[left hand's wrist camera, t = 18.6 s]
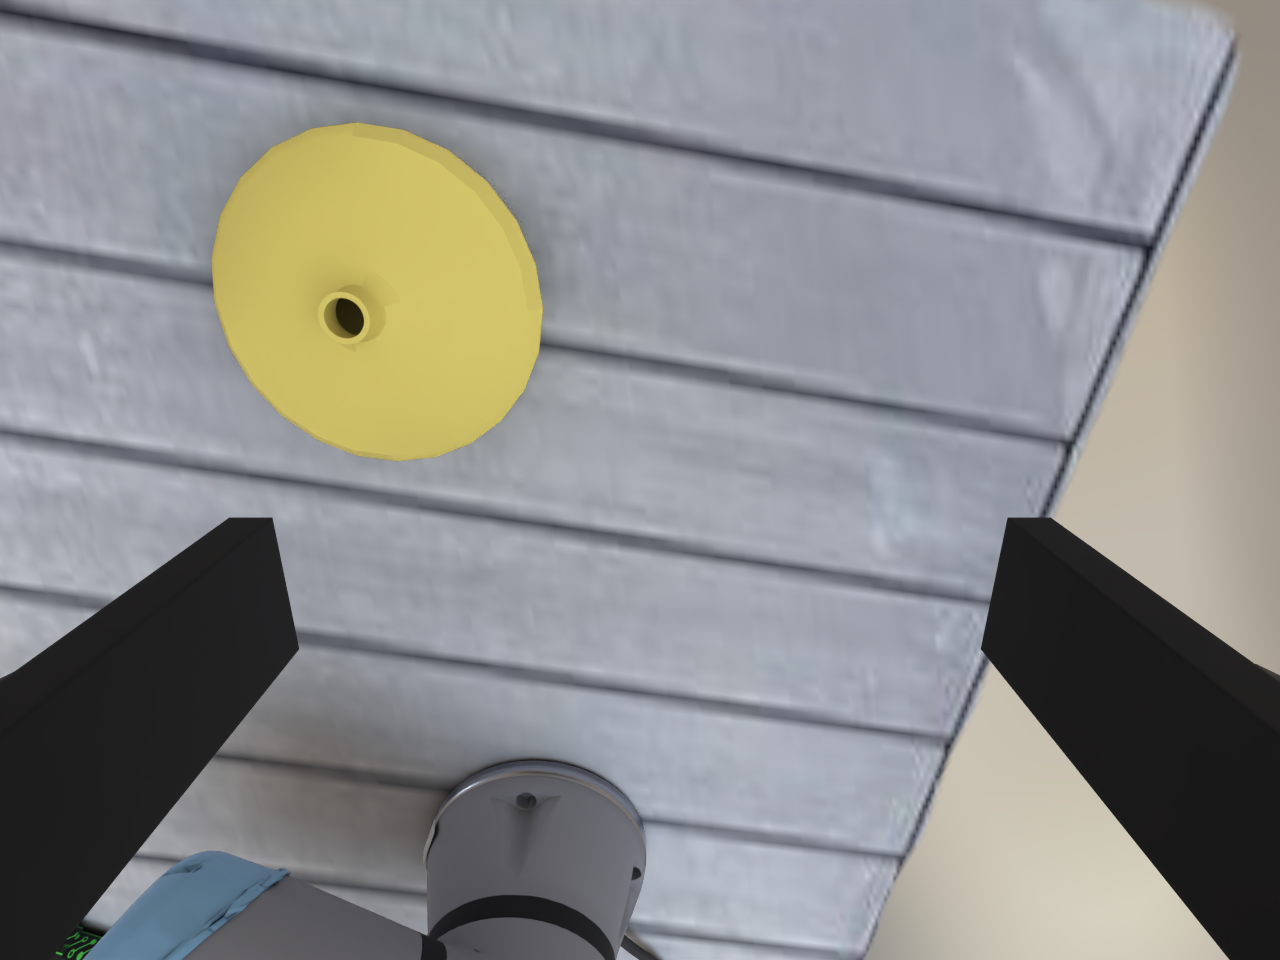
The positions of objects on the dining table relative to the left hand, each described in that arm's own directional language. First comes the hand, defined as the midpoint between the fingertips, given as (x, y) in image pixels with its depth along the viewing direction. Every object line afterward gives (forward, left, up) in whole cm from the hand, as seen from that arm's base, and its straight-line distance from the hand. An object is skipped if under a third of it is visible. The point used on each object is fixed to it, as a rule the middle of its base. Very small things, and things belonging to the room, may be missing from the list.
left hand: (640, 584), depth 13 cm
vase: (+11, +7, -26) cm, 29 cm away
